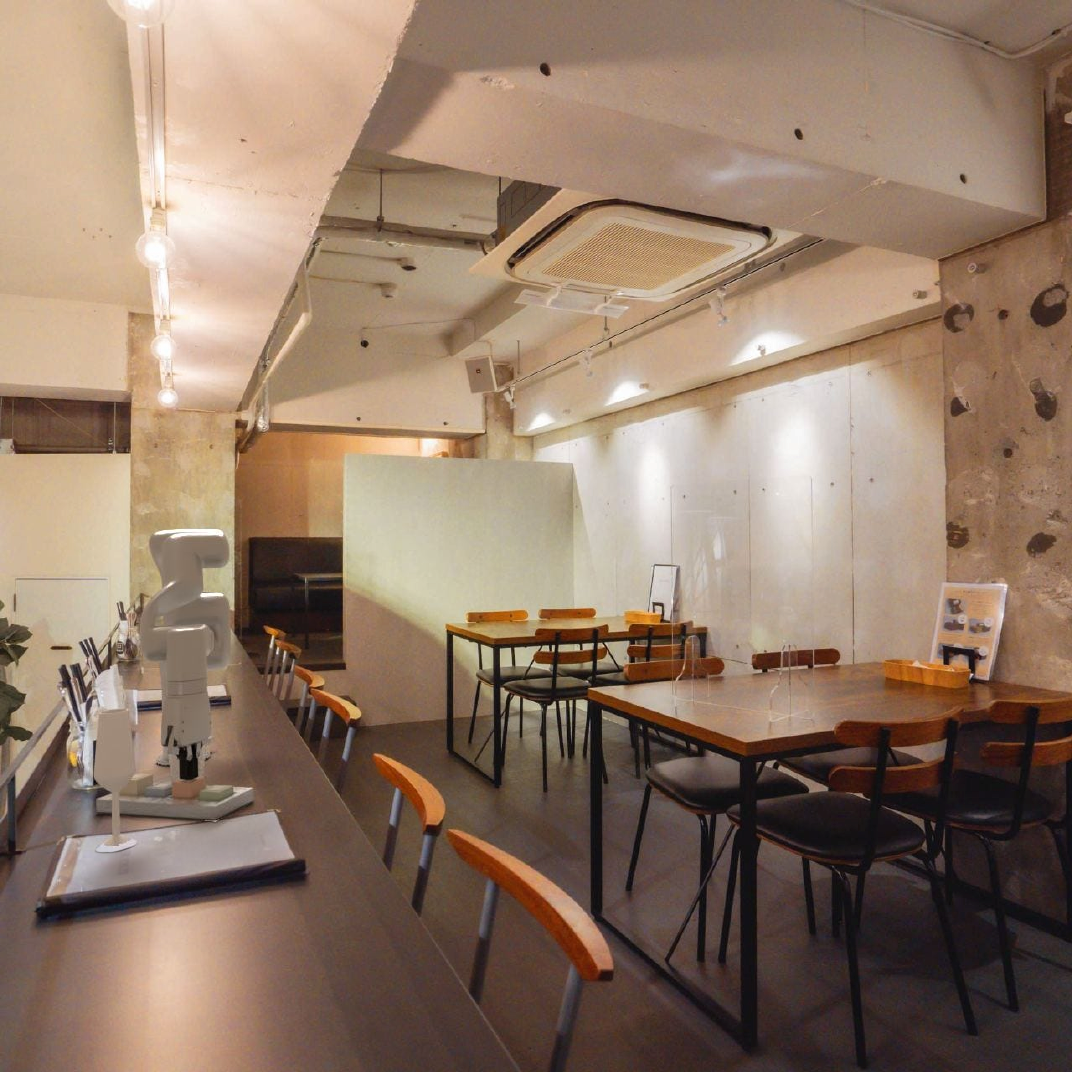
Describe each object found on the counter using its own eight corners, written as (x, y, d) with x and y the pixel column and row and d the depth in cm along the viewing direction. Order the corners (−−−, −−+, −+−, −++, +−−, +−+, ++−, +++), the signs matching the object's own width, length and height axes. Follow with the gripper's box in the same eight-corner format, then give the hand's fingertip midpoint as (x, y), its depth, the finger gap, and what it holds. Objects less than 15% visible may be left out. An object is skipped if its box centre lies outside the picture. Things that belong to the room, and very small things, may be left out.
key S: (135, 789, 164) (135, 772, 164) (153, 790, 163) (152, 773, 163) (118, 796, 160) (118, 778, 160) (137, 797, 158) (136, 779, 158)
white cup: (191, 787, 173) (191, 742, 173) (160, 786, 175) (160, 742, 175) (213, 777, 181) (212, 734, 181) (183, 776, 182) (182, 733, 183)
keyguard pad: (140, 795, 168) (140, 781, 168) (253, 802, 161) (253, 788, 161) (96, 814, 156) (96, 799, 156) (215, 822, 149) (215, 806, 149)
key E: (214, 801, 159) (214, 784, 159) (233, 803, 158) (233, 785, 158) (199, 809, 155) (199, 790, 155) (219, 810, 153) (218, 792, 154)
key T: (161, 798, 162) (161, 781, 162) (179, 799, 161) (179, 782, 161) (145, 805, 158) (145, 787, 158) (164, 806, 157) (163, 789, 157)
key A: (187, 792, 161) (187, 775, 161) (206, 793, 159) (205, 776, 160) (172, 799, 156) (171, 781, 156) (191, 800, 155) (190, 782, 155)
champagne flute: (97, 842, 140) (95, 709, 141) (138, 836, 143) (136, 706, 143) (92, 855, 134) (90, 716, 134) (135, 848, 137) (133, 712, 137)
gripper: (196, 682, 166) (198, 768, 166) (144, 694, 152) (146, 788, 151) (226, 682, 165) (228, 769, 164) (177, 694, 150) (179, 789, 149)
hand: (189, 778), depth 158 cm, fingers closed
